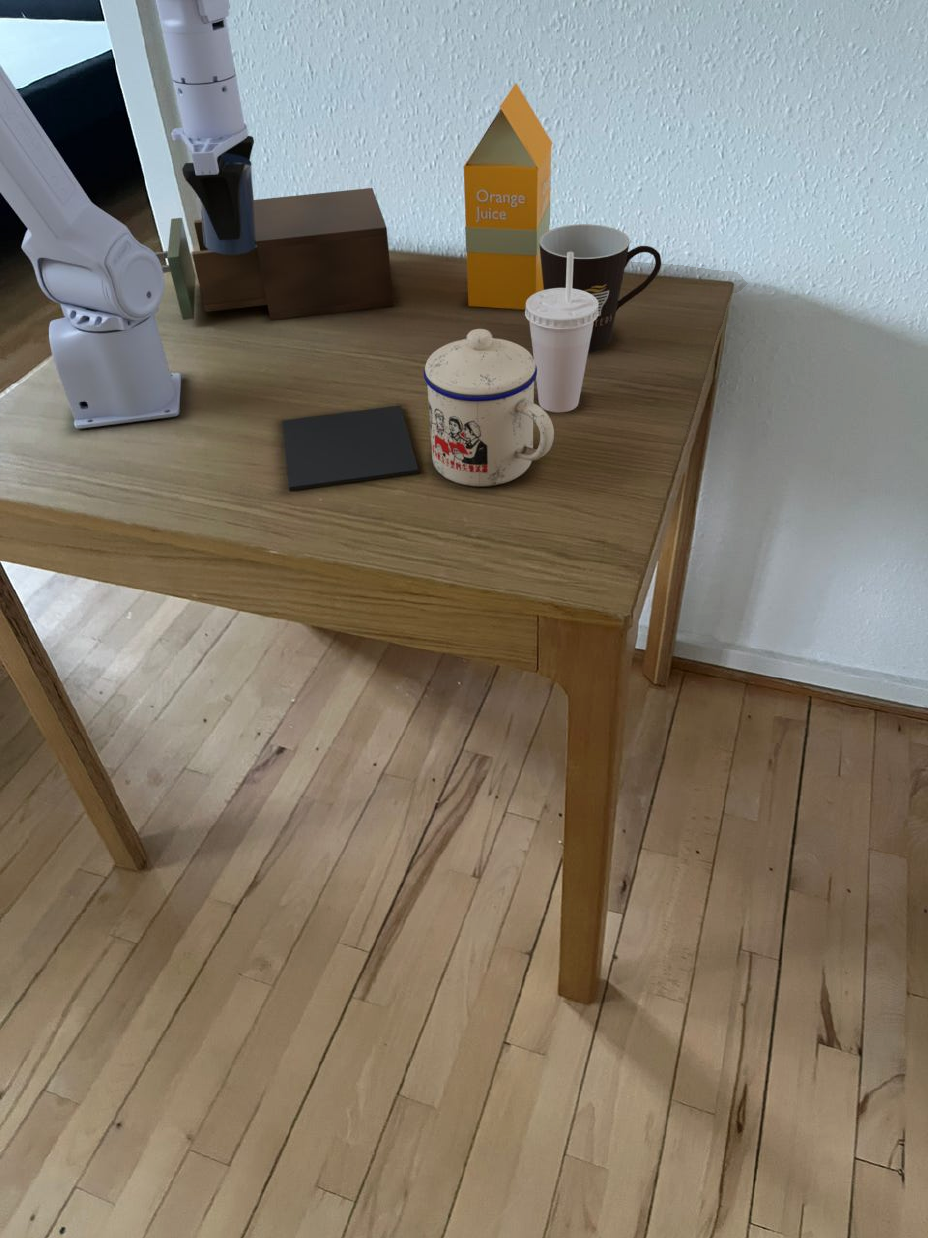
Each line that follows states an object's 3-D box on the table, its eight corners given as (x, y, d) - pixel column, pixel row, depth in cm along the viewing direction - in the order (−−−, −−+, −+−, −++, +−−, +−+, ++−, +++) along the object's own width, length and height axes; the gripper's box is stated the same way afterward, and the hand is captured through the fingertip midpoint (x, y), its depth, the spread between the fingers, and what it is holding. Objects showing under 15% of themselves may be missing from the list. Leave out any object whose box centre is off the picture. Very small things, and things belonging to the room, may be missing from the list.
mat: (289, 491, 80) (288, 487, 79) (283, 424, 88) (282, 420, 87) (419, 473, 81) (418, 469, 80) (401, 408, 89) (400, 404, 88)
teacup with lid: (408, 463, 82) (396, 336, 74) (479, 420, 87) (476, 297, 79) (512, 517, 76) (512, 385, 68) (583, 468, 80) (591, 340, 72)
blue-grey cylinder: (202, 253, 95) (194, 170, 90) (205, 233, 99) (197, 151, 93) (255, 255, 96) (251, 172, 90) (256, 235, 100) (252, 154, 94)
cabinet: (270, 320, 104) (255, 241, 98) (266, 274, 113) (252, 199, 107) (393, 305, 105) (386, 227, 99) (379, 261, 114) (372, 187, 109)
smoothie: (589, 422, 86) (598, 269, 76) (519, 417, 87) (519, 266, 77) (596, 387, 90) (606, 239, 81) (529, 382, 91) (531, 236, 82)
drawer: (141, 324, 102) (124, 262, 97) (147, 282, 110) (131, 222, 106) (298, 306, 104) (288, 244, 99) (292, 266, 112) (283, 206, 108)
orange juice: (466, 305, 104) (459, 105, 91) (483, 273, 111) (479, 81, 97) (537, 310, 103) (540, 107, 89) (550, 276, 109) (555, 82, 96)
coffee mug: (530, 354, 96) (531, 255, 89) (545, 316, 102) (547, 221, 95) (646, 364, 93) (657, 263, 87) (655, 325, 99) (665, 228, 93)
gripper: (174, 59, 92) (205, 204, 101) (144, 99, 82) (181, 257, 91) (247, 56, 92) (271, 200, 102) (226, 95, 82) (255, 253, 91)
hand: (233, 227), depth 96 cm, fingers closed on blue-grey cylinder, 5 cm apart
